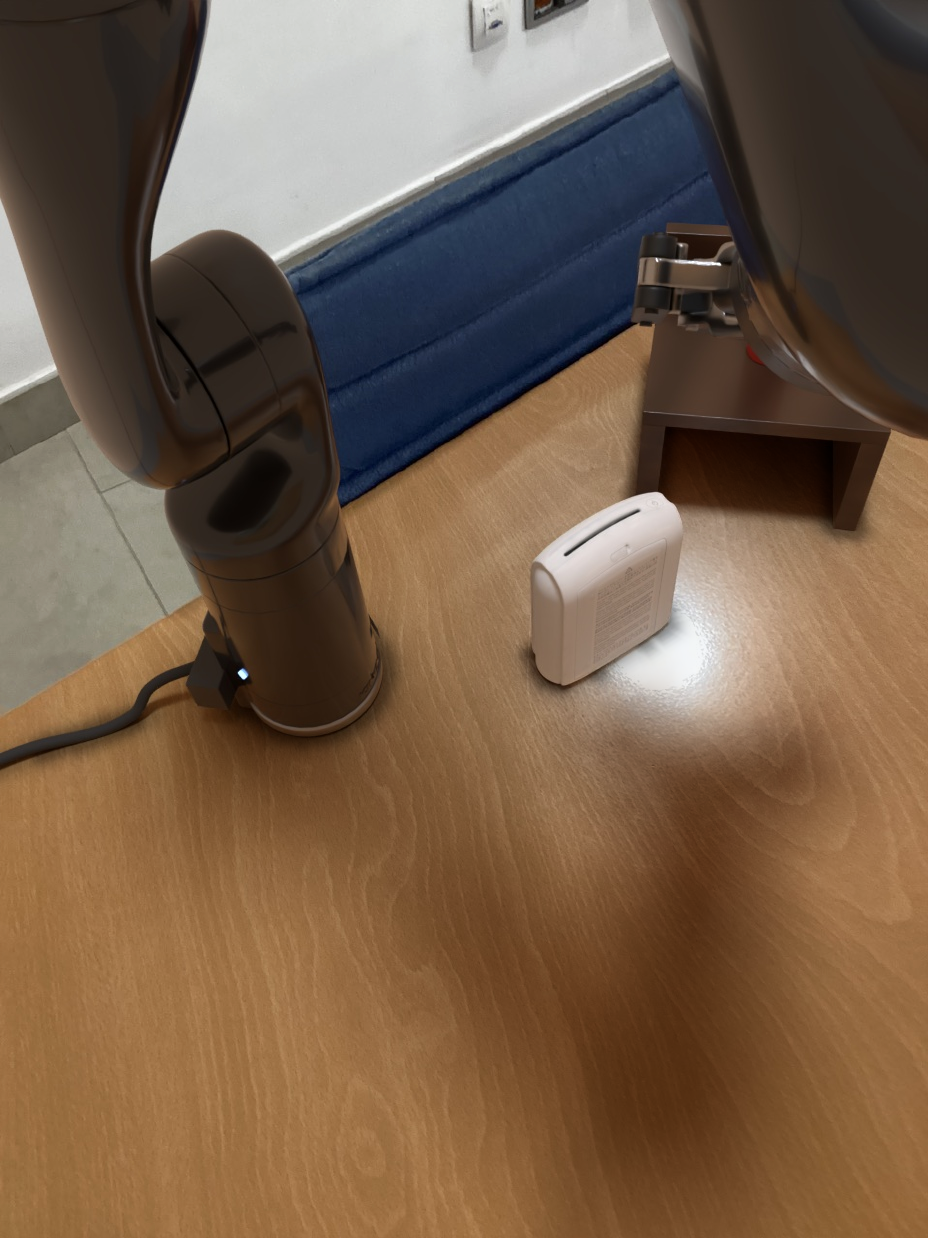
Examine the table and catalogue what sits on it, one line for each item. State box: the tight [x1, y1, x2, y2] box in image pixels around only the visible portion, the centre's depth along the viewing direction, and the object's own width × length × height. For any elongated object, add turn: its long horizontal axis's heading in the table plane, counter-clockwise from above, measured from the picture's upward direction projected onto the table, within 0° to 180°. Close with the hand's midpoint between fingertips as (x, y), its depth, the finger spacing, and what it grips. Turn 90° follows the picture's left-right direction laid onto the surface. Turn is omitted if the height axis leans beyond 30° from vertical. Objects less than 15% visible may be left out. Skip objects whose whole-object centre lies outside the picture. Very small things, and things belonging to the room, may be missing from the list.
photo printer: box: [529, 491, 685, 686], centre depth 68 cm, size 10×4×12 cm, turn 123°
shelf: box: [634, 222, 892, 531], centre depth 77 cm, size 16×15×14 cm
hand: (805, 315), depth 45 cm, fingers open, 8 cm apart
